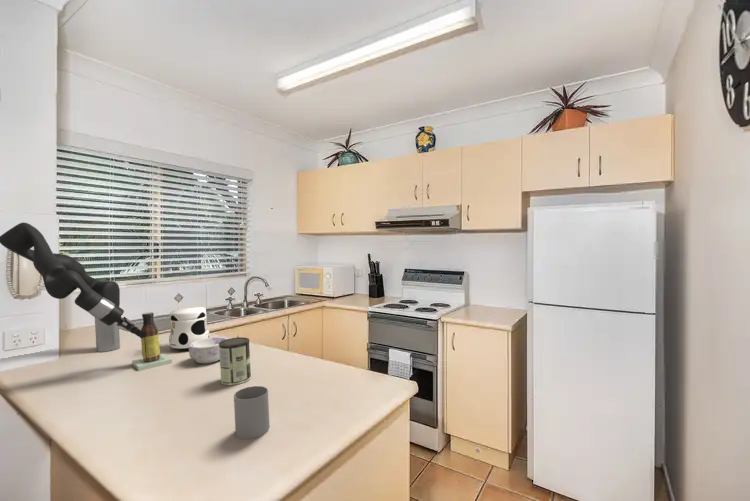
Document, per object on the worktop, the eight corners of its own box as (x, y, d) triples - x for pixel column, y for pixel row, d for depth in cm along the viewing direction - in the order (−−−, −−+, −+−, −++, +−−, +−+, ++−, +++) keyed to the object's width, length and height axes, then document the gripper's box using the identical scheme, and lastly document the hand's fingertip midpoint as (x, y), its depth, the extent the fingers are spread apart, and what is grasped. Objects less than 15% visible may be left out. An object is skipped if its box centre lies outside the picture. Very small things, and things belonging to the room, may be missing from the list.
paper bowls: (181, 364, 148) (180, 345, 148) (210, 352, 162) (209, 335, 162) (208, 368, 142) (207, 348, 142) (236, 356, 156) (235, 338, 156)
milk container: (162, 349, 171) (160, 311, 170) (198, 340, 185) (196, 305, 184) (181, 354, 161) (179, 315, 160) (217, 344, 175) (215, 308, 175)
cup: (241, 423, 97) (239, 387, 97) (272, 421, 98) (270, 385, 98) (231, 440, 89) (229, 400, 89) (265, 438, 89) (263, 398, 89)
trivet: (132, 364, 150) (131, 360, 150) (164, 356, 159) (163, 353, 159) (138, 370, 142) (138, 366, 142) (172, 362, 150) (171, 359, 150)
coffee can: (236, 373, 136) (234, 336, 135) (257, 376, 131) (255, 338, 131) (213, 383, 126) (212, 343, 126) (235, 387, 122) (233, 346, 122)
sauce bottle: (163, 357, 153) (161, 311, 152) (153, 362, 147) (150, 314, 146) (149, 357, 153) (147, 311, 153) (138, 362, 147) (136, 314, 147)
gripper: (94, 316, 142) (130, 339, 151) (100, 321, 132) (138, 345, 141) (110, 301, 146) (144, 324, 154) (117, 305, 136) (153, 329, 144)
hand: (141, 334), depth 147 cm, fingers open, 8 cm apart
